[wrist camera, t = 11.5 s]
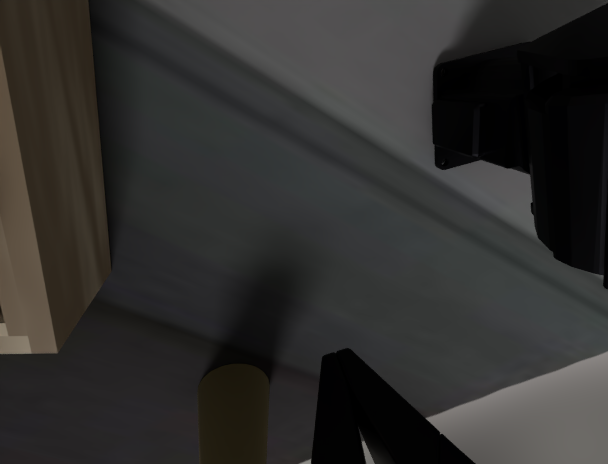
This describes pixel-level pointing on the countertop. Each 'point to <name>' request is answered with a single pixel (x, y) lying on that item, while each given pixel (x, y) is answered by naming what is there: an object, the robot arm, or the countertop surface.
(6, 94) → the button box
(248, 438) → the cork
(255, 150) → the countertop surface
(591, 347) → the countertop surface
